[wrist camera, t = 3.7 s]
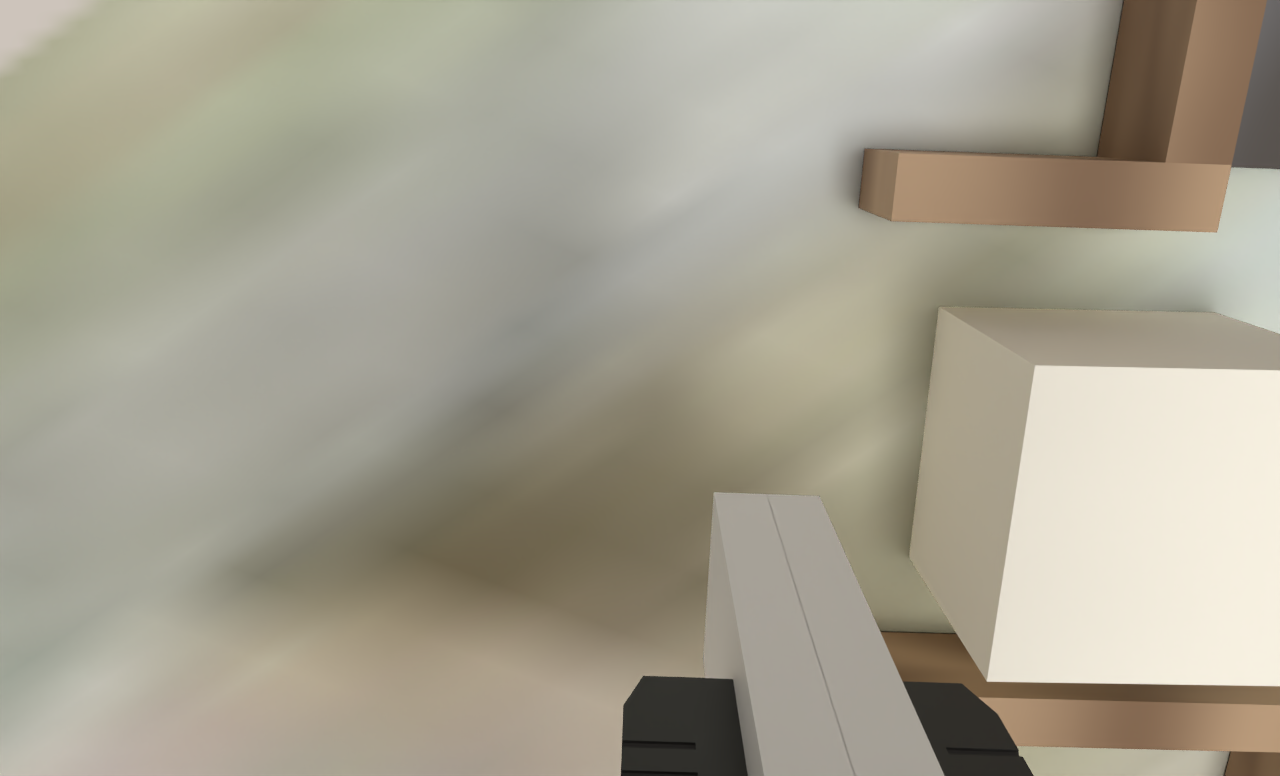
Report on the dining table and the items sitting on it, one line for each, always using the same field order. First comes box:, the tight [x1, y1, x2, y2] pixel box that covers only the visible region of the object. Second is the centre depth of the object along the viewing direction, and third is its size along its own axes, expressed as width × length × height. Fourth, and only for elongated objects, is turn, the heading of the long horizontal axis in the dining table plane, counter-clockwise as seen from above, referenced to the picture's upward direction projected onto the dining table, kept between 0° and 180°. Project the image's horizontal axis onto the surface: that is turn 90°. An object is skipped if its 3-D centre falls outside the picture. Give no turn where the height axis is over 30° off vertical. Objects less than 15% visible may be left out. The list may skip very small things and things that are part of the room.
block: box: [909, 307, 1280, 686], centre depth 18 cm, size 6×6×5 cm
